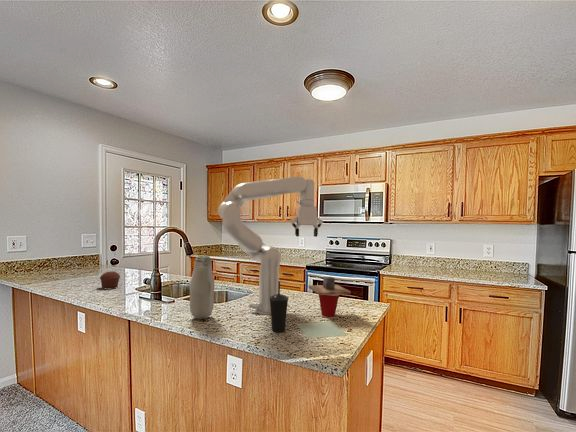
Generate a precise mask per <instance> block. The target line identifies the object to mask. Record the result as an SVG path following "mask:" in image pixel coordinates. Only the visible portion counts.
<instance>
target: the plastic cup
mask: <svg viewBox="0 0 576 432" xmlns="http://www.w3.org/2000/svg"><path fill="white" fill-rule="evenodd" d="M340 296H341V294H333V295H318V297H319V306H320V312H321V316H323V317H326V318H334V317H335V316H336V311H337V309H338V308H337V307H338V302H339V298H340Z"/></svg>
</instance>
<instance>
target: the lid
mask: <svg viewBox="0 0 576 432" xmlns="http://www.w3.org/2000/svg"><path fill="white" fill-rule="evenodd" d="M322 281H323V283H322V284H316V285H314V284H313V285H310V284H309V285H307V286H308V288H309V289H310V290H311V291H312V292H314V293H315V294H317V295H318V296H319V295H333V294H340V295H351V291H350V290H349V289H348V288H345V287H342V286H341V285H339V284H336V283H335V281H336V280H335V277H334V276H333V277H332V276H323V280H322Z"/></svg>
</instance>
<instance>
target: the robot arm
mask: <svg viewBox="0 0 576 432" xmlns="http://www.w3.org/2000/svg"><path fill="white" fill-rule="evenodd" d="M286 194H299V200H297V201H296V204H298V207H297V211H296V216H295V217H293V218H292V219H290V220H289V221H290V223H291V226H292V227H293V228H294V232H295V233H294V235H295V237H300V228H299V227H300V226H312V227H313V237H318V235H319V228H320V227H321V226H322V224H323V219H321V218H319V217H318V211H317V207H316V205H315V181H314V180H313V179H309V178H307V179H305V178H304V177H302V176H292V177H282V178H276V179H275V178H274V179H265V180H257V181H249V182H241V183H238V184H237V185H236V186H234V188H232V190H231V191H230V192H229V193H228V195H227V196H226V197H225V199H224V200H223V201H222V202H221V203H220V205H219V206H218V209H217V213H218V216H219V218H221V220H222V225H223V229H224V230H225V232H226V234H227V235H228V236H229V237H230V238H232V239H233V240H234V241H235V242H236V243H238V244H237V245H238V247H239V249H240V250H242V251H243V252H244V253H245V254H247V255H248V257H250V258H252V259H253V260H254V261H256V262H257V263H259V264H260V267H259V271H258V273H259V274H258V281H259V282H258V300H257V302H255V303H249V304H248V308H249V309H252V310H255V313H256V314H258V315H261V316H271V307H270V299H269V297H270V296H273V295H275V294H278V281H280V277H279V276H280V266H281V265H280V264H281V258H282V257H281V252H280V251H279V249H278V248H276V247H274V246H272V245H268V244H265V243H264V242H263V239H262V238H261V236H260V235H258V234H257V233H256V232H254V230H252V229H251V228H250V227H249V226H247V224H245V223H244V222H243V221H242V218H241V213H242V211H241V210H242V209H241V207H242V206H243V204H244V203H245V202H247V201H255V200H260V199H267V198H273V197H278V196H281V195H286ZM295 221H296V223H295Z"/></svg>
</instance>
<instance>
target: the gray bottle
mask: <svg viewBox="0 0 576 432" xmlns="http://www.w3.org/2000/svg"><path fill="white" fill-rule="evenodd" d="M212 261H213V260H212V258H211V256H209V255H205V254H201V255H198V256H196V258H195V259H194V263H193V264H194V266H193V271H192V275H191V278H190V282H189V312H190V314H191V316H192V317H193V318H195V319H197V320H203V319H207V318H209V317H210V316H211V315H212V313H213V310H214V304H215V303H214V301H215V279H214V278H215V277H214V273H213V267H212V265H213V263H212Z"/></svg>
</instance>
